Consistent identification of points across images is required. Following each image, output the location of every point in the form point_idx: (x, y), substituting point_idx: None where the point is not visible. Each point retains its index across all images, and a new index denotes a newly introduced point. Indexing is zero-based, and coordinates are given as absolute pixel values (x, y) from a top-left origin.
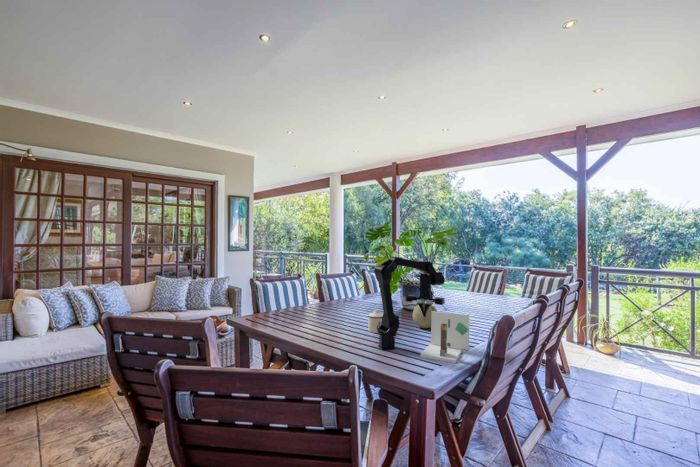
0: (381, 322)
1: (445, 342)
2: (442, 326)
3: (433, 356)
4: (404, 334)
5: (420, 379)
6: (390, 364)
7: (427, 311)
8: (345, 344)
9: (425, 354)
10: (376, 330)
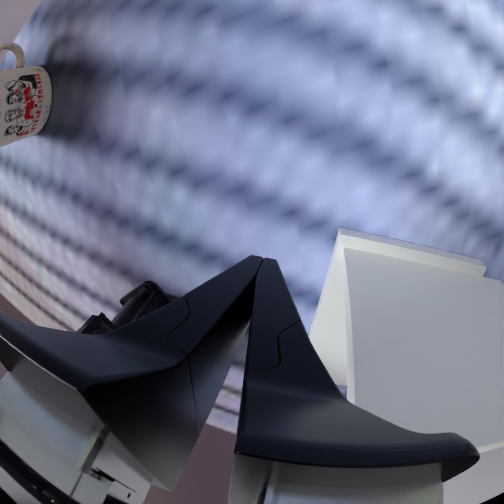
0: (11, 119)
1: None
2: None
3: (341, 384)
4: (141, 57)
5: None
6: (225, 408)
7: (294, 306)
8: (59, 300)
9: None
10: (33, 132)
